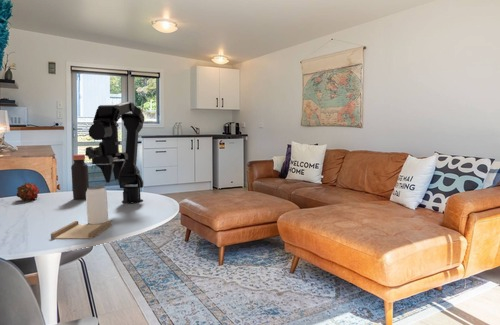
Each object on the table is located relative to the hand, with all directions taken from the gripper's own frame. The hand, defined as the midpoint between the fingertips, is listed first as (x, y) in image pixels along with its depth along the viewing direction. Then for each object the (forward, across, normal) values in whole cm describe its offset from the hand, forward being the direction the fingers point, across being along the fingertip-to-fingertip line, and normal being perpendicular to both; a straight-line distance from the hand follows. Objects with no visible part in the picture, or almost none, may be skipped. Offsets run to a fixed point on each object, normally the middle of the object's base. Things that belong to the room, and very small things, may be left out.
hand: (112, 180), depth 134 cm
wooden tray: (+12, +25, 0) cm, 28 cm away
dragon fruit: (+12, -26, -50) cm, 58 cm away
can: (+12, +14, 0) cm, 19 cm away
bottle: (+12, -28, -26) cm, 40 cm away
